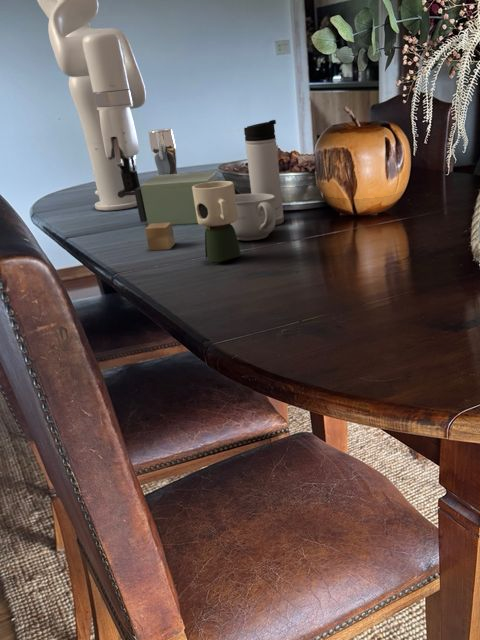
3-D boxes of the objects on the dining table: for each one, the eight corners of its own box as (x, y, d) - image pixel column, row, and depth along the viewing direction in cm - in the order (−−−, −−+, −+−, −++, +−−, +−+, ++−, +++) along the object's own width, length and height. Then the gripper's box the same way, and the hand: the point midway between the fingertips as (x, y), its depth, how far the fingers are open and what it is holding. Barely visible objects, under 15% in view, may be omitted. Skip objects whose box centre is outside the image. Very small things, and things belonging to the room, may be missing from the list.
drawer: (119, 223, 145) (112, 191, 142) (134, 212, 155) (128, 182, 152) (199, 218, 144) (194, 185, 141) (209, 207, 154) (205, 176, 151)
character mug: (197, 256, 120) (184, 183, 113) (233, 250, 122) (223, 177, 115) (213, 271, 111) (200, 192, 104) (252, 263, 113) (242, 185, 107)
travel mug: (281, 226, 136) (271, 121, 125) (251, 227, 137) (238, 123, 127) (288, 219, 141) (279, 118, 131) (259, 220, 142) (248, 120, 132)
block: (149, 250, 126) (144, 228, 124) (154, 244, 130) (150, 223, 128) (170, 249, 126) (166, 227, 124) (175, 243, 130) (171, 222, 127)
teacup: (218, 236, 132) (212, 195, 128) (268, 227, 135) (264, 188, 131) (238, 251, 121) (232, 207, 117) (292, 241, 124) (288, 198, 120)
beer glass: (179, 187, 187) (169, 130, 179) (155, 188, 187) (145, 132, 180) (184, 182, 193) (174, 128, 185) (161, 184, 193) (150, 130, 186)
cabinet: (148, 226, 145) (139, 185, 141) (162, 213, 156) (155, 175, 152) (213, 222, 144) (206, 180, 139) (223, 209, 155) (217, 170, 150)
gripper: (108, 100, 145) (126, 186, 154) (84, 104, 132) (105, 198, 141) (140, 97, 144) (157, 183, 153) (119, 101, 131) (139, 195, 140)
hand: (132, 190), depth 147 cm, fingers closed
